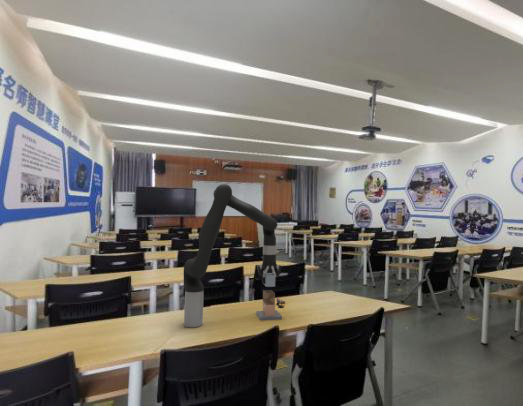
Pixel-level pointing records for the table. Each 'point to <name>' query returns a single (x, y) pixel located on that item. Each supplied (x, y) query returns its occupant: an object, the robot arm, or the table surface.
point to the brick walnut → (269, 297)
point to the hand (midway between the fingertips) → (269, 283)
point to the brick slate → (269, 280)
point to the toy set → (280, 303)
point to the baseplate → (262, 317)
